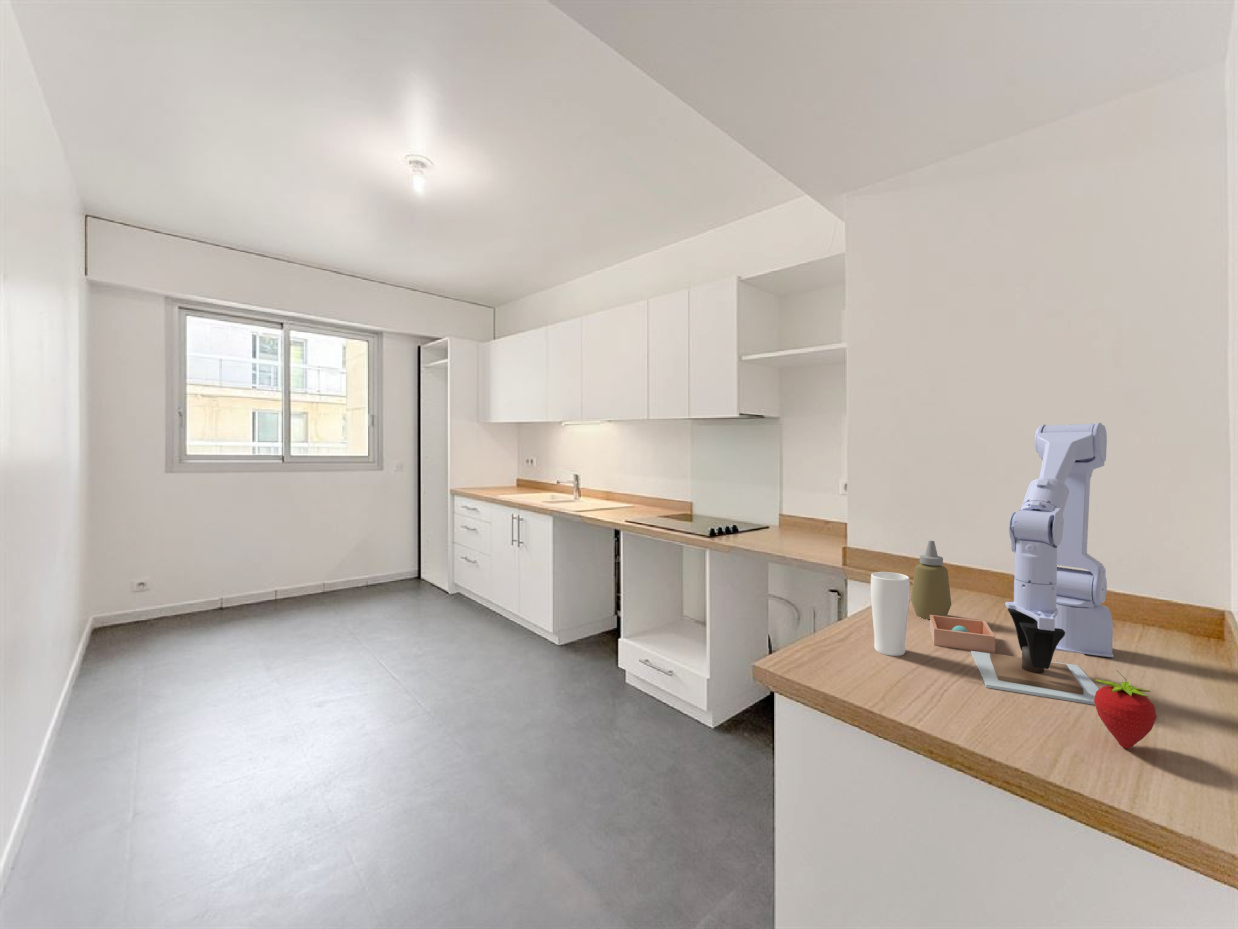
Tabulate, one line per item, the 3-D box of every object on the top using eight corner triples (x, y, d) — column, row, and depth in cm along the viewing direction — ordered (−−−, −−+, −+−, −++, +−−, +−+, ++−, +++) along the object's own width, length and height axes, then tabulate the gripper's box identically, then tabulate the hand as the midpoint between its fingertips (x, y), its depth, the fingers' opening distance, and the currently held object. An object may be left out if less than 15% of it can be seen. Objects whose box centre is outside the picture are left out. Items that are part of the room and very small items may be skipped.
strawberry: (1094, 751, 68) (1095, 675, 68) (1092, 728, 74) (1093, 658, 73) (1159, 769, 64) (1161, 689, 64) (1151, 743, 70) (1153, 669, 69)
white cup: (914, 660, 97) (915, 580, 97) (875, 658, 99) (876, 579, 98) (902, 647, 104) (903, 572, 104) (866, 644, 105) (866, 571, 105)
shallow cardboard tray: (985, 637, 109) (985, 621, 109) (994, 654, 100) (995, 636, 100) (929, 630, 113) (929, 614, 113) (934, 646, 104) (934, 629, 104)
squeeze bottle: (951, 615, 123) (952, 539, 122) (951, 626, 116) (952, 545, 115) (911, 610, 127) (912, 537, 127) (909, 619, 120) (910, 542, 120)
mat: (1077, 668, 93) (1077, 665, 93) (1113, 708, 79) (1113, 704, 79) (970, 653, 101) (970, 650, 101) (986, 687, 86) (986, 684, 86)
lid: (1066, 668, 92) (1066, 644, 92) (1083, 694, 82) (1083, 667, 82) (989, 657, 97) (990, 634, 97) (997, 680, 88) (998, 654, 88)
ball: (967, 639, 107) (967, 624, 107) (970, 644, 104) (970, 629, 104) (950, 637, 108) (950, 622, 108) (952, 641, 106) (952, 627, 106)
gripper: (997, 569, 98) (996, 641, 98) (1016, 588, 85) (1015, 670, 85) (1045, 573, 95) (1044, 647, 95) (1071, 593, 82) (1070, 679, 82)
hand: (1033, 659), depth 90 cm, fingers open, 7 cm apart
